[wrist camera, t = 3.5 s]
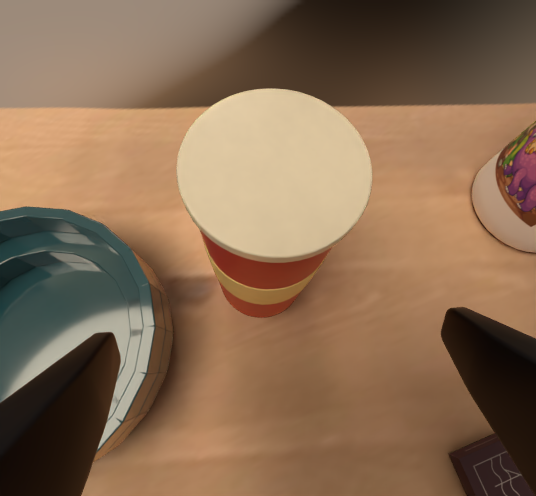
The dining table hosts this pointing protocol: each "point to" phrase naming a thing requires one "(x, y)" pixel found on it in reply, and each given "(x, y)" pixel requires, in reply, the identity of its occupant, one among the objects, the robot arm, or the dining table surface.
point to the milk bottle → (510, 193)
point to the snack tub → (272, 191)
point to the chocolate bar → (488, 470)
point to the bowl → (80, 308)
